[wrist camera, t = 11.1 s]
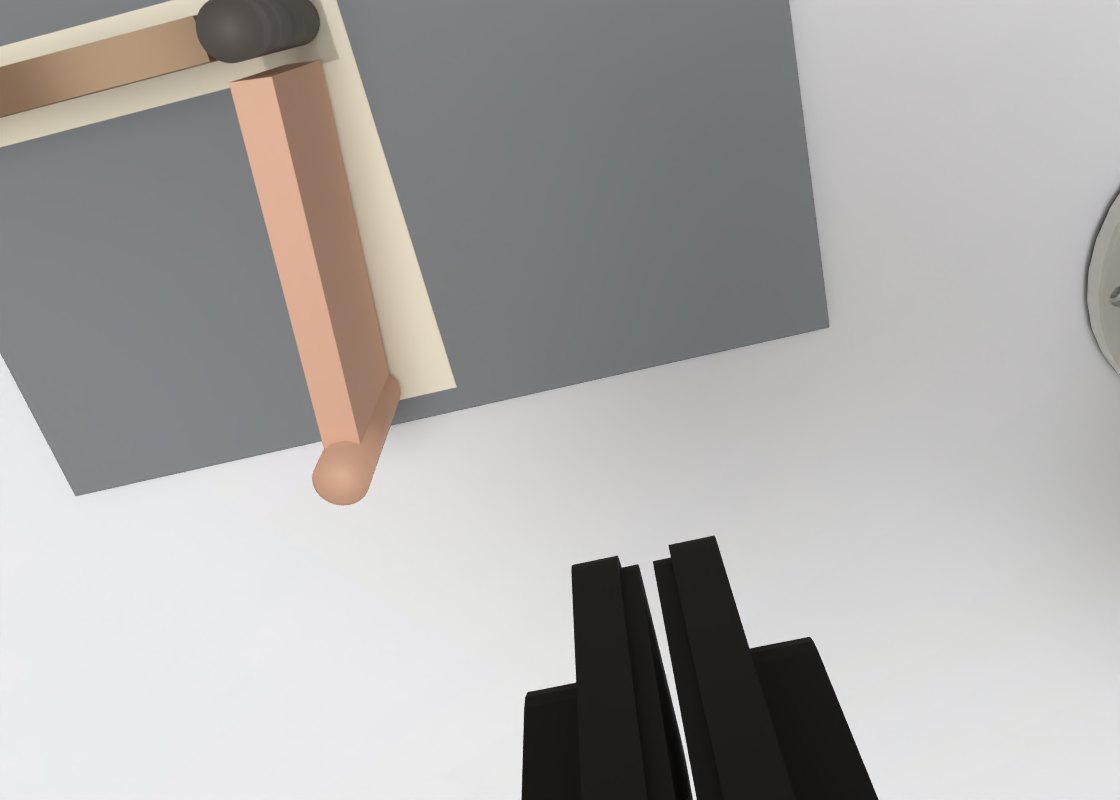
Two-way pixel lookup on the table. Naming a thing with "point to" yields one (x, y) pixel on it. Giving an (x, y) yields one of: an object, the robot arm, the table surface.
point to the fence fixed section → (159, 51)
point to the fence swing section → (320, 269)
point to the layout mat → (402, 216)
